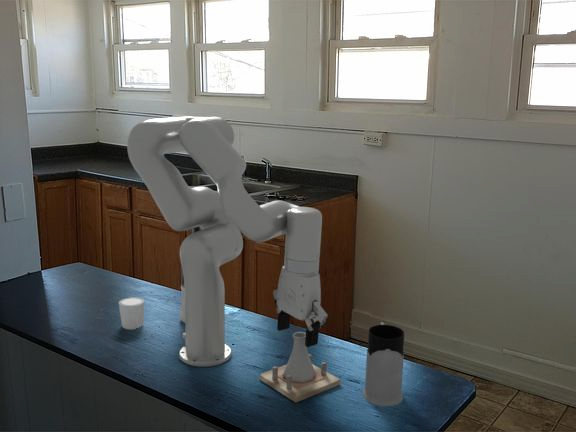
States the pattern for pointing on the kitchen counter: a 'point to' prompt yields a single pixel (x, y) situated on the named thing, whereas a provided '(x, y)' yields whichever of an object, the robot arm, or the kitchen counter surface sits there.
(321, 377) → the four-post base plate
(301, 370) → the flask
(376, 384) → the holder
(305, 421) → the kitchen counter surface
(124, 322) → the white tapered cylinder
